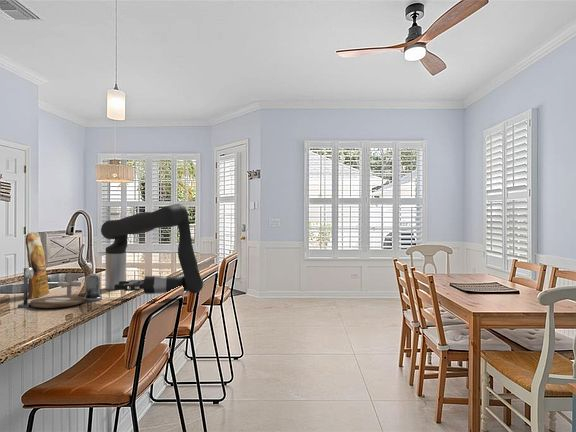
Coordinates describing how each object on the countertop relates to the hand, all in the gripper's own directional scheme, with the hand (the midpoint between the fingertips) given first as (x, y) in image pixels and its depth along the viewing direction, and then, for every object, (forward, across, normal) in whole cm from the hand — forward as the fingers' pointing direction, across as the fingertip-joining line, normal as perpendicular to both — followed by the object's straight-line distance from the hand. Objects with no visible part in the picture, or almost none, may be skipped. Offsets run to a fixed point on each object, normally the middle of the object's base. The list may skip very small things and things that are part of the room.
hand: (116, 285), depth 191 cm
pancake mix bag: (+37, -14, +6) cm, 40 cm away
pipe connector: (+23, -12, +6) cm, 26 cm away
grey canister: (+10, 0, +6) cm, 11 cm away
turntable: (+21, +9, +6) cm, 23 cm away
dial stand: (+32, +11, +6) cm, 34 cm away
